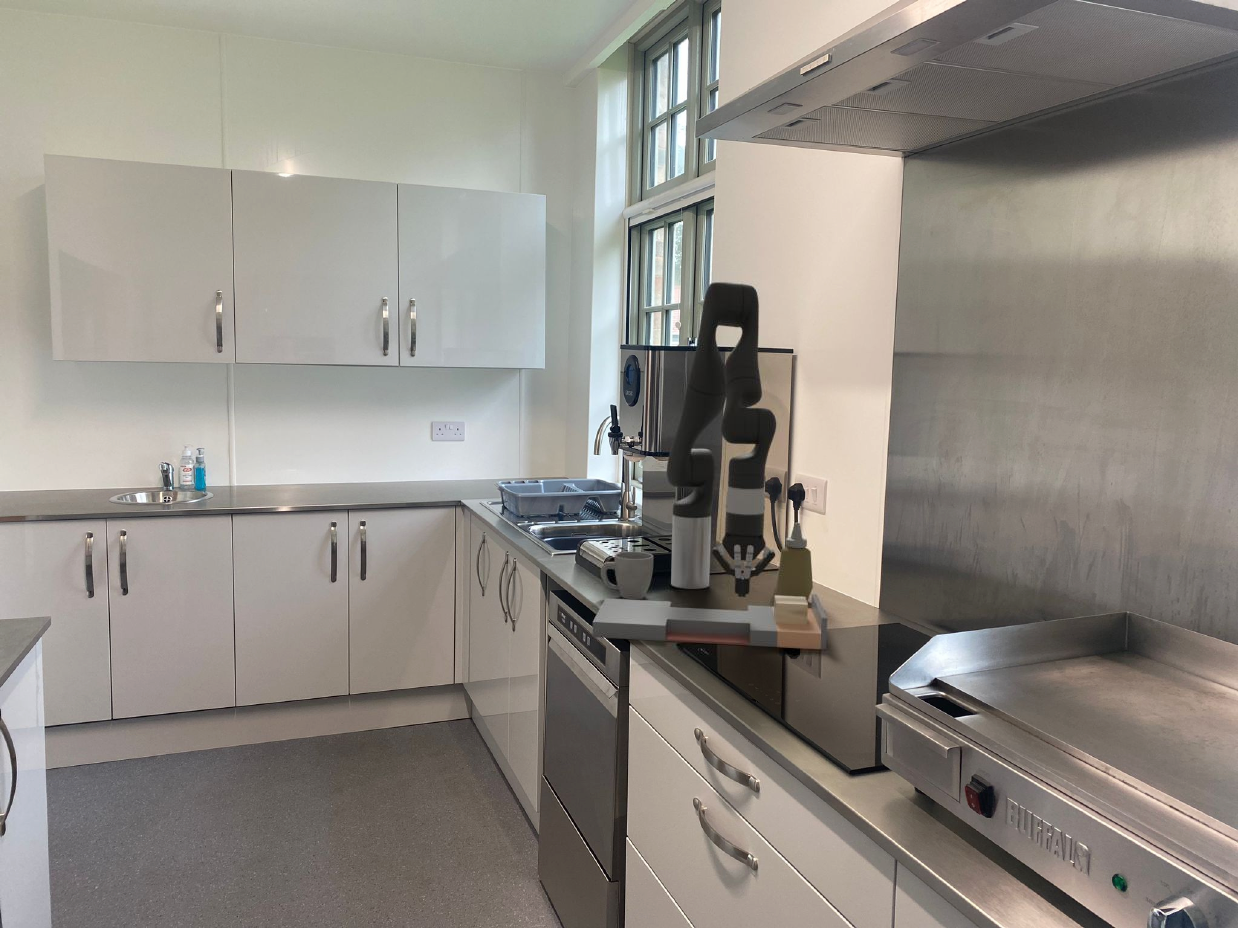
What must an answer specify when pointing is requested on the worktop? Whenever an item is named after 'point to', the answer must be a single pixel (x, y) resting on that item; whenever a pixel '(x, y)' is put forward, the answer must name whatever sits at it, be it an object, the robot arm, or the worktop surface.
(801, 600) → the maple block
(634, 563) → the mug
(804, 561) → the squeeze bottle
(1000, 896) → the worktop surface
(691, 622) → the trap deck
